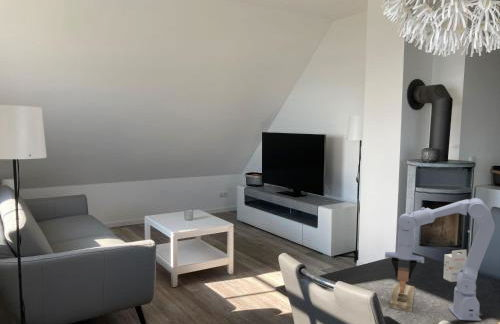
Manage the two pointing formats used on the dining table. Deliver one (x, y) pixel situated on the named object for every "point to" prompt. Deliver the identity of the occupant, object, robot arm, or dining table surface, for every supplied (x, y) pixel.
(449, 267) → the ink cartridge box
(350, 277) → the dining table surface
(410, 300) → the rail
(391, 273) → the dining table surface
